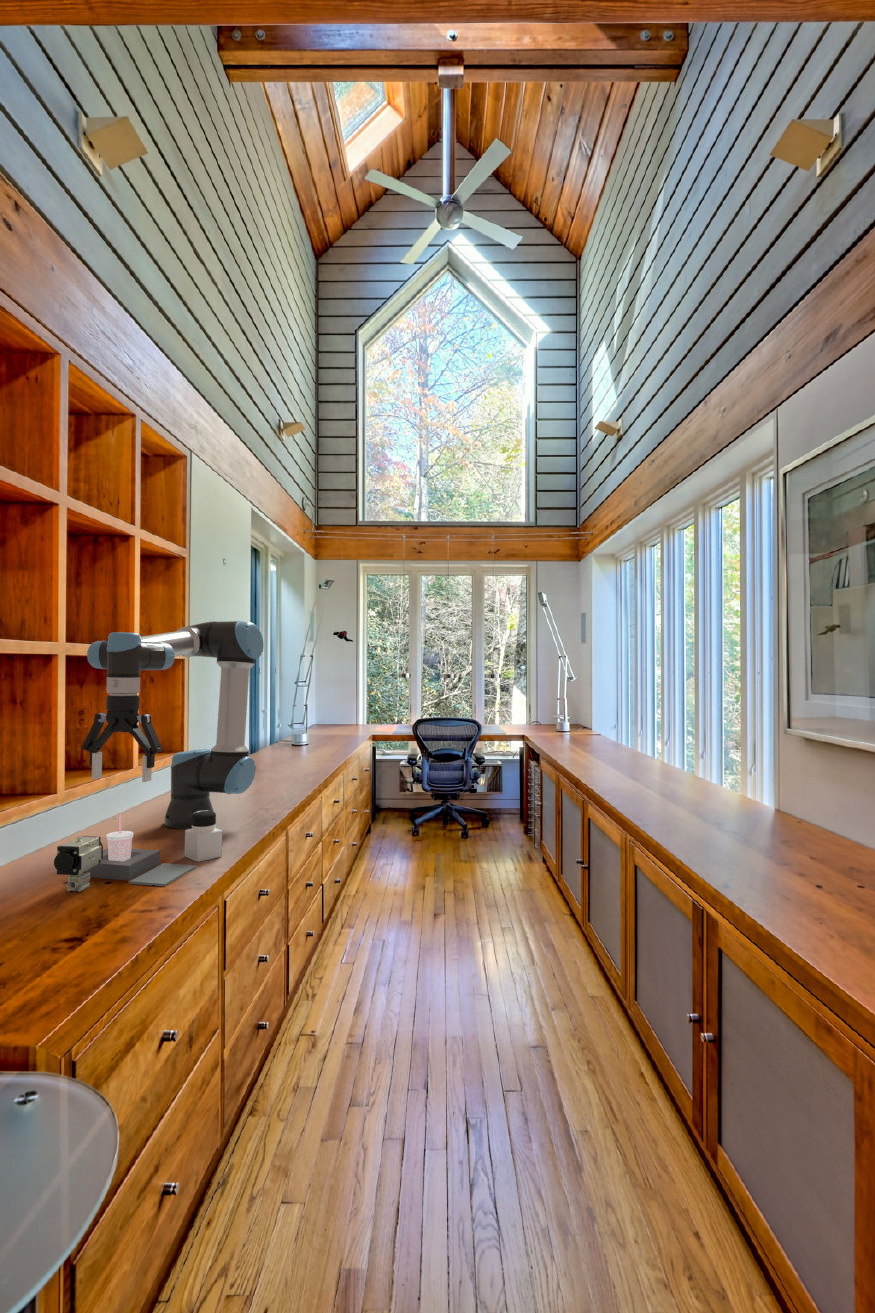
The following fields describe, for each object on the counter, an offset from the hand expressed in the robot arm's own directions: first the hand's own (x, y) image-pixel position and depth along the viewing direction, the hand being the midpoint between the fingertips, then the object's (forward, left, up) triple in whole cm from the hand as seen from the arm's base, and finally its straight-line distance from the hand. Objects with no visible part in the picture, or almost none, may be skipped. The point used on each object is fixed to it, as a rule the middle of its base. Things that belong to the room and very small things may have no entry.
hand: (121, 780), depth 165 cm
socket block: (0, 0, -22) cm, 22 cm away
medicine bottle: (-15, +14, -23) cm, 30 cm away
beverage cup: (0, 0, -23) cm, 23 cm away
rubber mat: (+1, +13, -22) cm, 26 cm away
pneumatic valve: (+14, 0, -23) cm, 27 cm away
